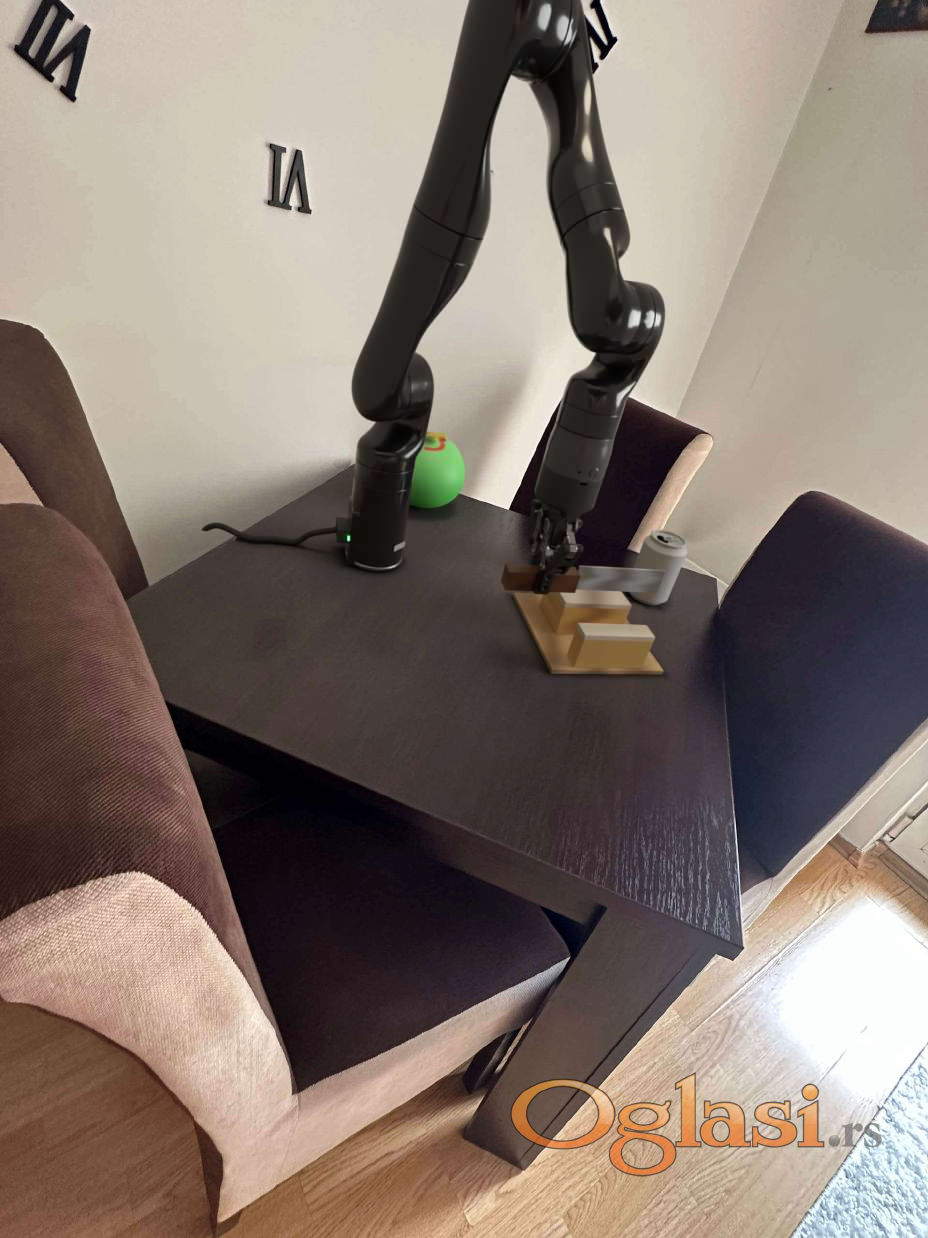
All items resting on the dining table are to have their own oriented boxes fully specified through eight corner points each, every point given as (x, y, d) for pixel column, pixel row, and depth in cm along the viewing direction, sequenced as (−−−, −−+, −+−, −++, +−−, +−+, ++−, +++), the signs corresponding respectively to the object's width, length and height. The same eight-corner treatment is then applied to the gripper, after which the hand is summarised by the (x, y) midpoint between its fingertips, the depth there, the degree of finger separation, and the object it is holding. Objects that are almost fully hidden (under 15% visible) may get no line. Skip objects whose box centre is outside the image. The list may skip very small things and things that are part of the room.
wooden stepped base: (550, 674, 92) (563, 636, 88) (512, 596, 108) (521, 561, 104) (662, 674, 97) (678, 639, 93) (609, 600, 113) (621, 567, 109)
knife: (505, 590, 85) (511, 566, 83) (500, 581, 86) (506, 557, 84) (659, 596, 91) (668, 574, 89) (652, 588, 93) (661, 566, 91)
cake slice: (573, 667, 93) (585, 635, 90) (566, 654, 95) (577, 622, 92) (641, 668, 96) (655, 637, 93) (633, 656, 98) (646, 624, 95)
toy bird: (465, 525, 127) (480, 453, 119) (378, 517, 122) (388, 442, 114) (450, 487, 141) (462, 420, 133) (372, 479, 137) (380, 409, 129)
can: (620, 582, 119) (642, 523, 112) (658, 587, 120) (681, 529, 114) (632, 605, 113) (656, 544, 106) (672, 609, 114) (698, 550, 107)
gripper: (528, 440, 82) (497, 559, 91) (564, 486, 71) (525, 616, 80) (582, 446, 84) (546, 562, 93) (625, 493, 73) (580, 618, 82)
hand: (537, 586), depth 87 cm, fingers closed on knife, 2 cm apart
